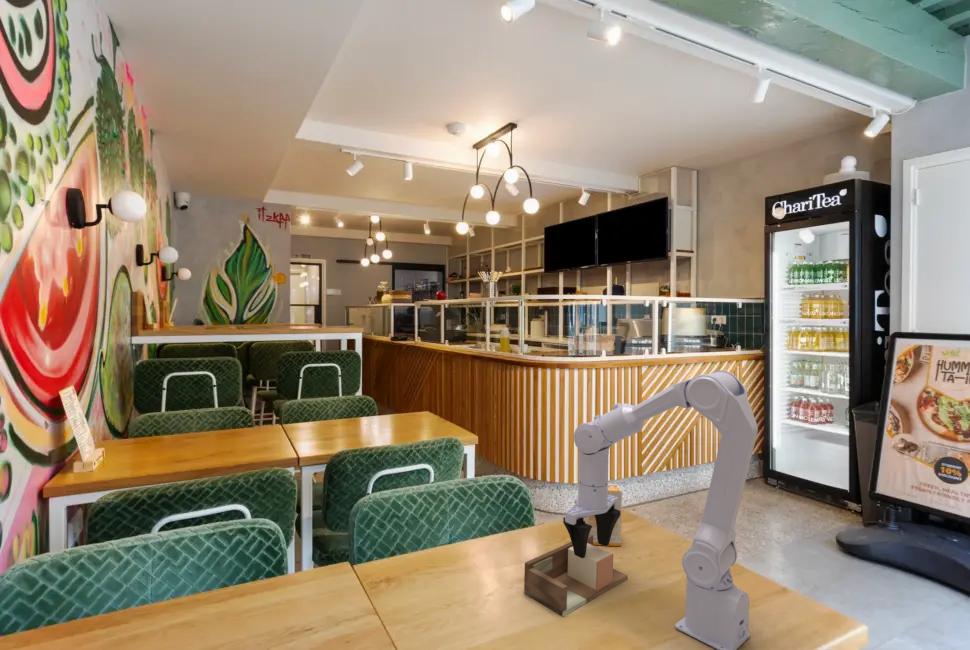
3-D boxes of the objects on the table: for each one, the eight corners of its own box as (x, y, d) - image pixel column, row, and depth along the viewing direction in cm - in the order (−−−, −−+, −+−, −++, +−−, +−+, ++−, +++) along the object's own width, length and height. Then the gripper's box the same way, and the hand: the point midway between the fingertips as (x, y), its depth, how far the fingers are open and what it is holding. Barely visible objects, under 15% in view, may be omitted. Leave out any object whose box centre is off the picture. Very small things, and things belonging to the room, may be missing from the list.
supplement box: (617, 538, 124) (619, 483, 124) (620, 547, 119) (622, 490, 119) (582, 535, 125) (584, 481, 125) (584, 545, 120) (585, 488, 120)
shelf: (627, 579, 105) (628, 549, 105) (563, 616, 92) (563, 583, 92) (588, 561, 113) (589, 533, 112) (524, 593, 99) (524, 562, 99)
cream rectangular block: (612, 581, 103) (613, 554, 103) (597, 590, 99) (598, 562, 99) (583, 567, 108) (583, 541, 108) (567, 575, 105) (568, 548, 105)
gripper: (598, 470, 111) (597, 533, 111) (553, 484, 101) (552, 553, 102) (627, 478, 106) (625, 544, 106) (582, 494, 96) (581, 567, 96)
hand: (591, 550), depth 103 cm, fingers open, 7 cm apart
